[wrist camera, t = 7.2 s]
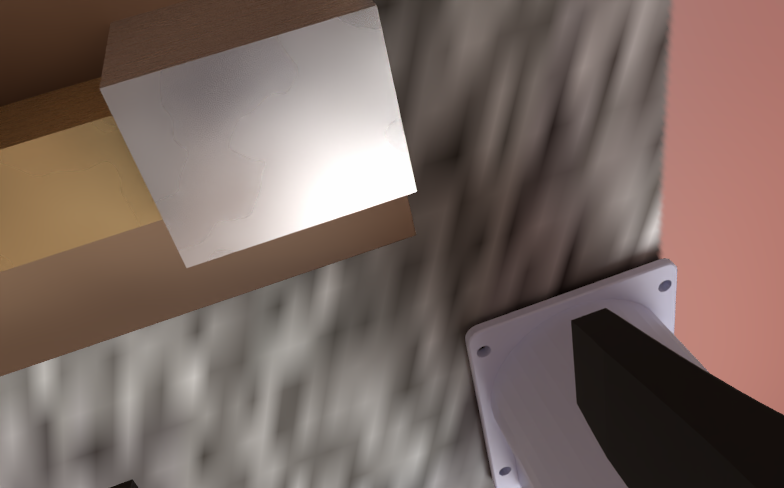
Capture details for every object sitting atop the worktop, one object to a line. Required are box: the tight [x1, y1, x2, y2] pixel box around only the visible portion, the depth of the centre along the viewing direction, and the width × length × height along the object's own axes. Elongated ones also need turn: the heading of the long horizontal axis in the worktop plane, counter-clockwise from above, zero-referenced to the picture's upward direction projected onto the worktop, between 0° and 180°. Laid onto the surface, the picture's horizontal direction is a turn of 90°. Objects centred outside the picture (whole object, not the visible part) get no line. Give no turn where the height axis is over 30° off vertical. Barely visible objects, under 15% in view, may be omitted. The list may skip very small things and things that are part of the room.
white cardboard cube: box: [99, 0, 417, 268], centre depth 15 cm, size 4×5×4 cm
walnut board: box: [0, 0, 416, 376], centre depth 17 cm, size 12×15×1 cm
